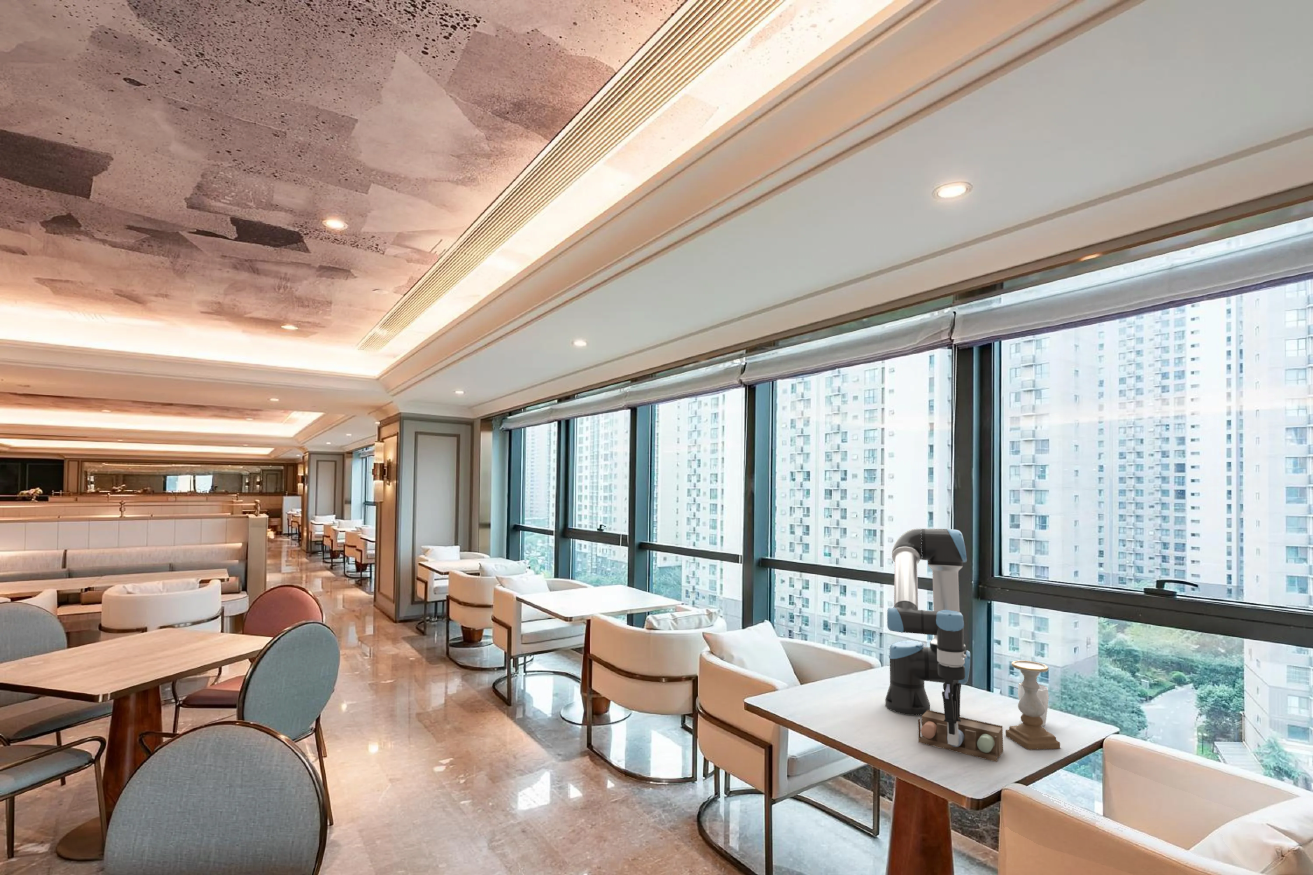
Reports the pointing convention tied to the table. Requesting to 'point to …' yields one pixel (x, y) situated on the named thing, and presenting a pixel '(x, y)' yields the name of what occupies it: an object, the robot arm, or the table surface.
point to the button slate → (961, 738)
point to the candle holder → (1031, 711)
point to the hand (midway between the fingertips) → (953, 743)
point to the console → (971, 735)
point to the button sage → (985, 743)
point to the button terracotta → (929, 730)
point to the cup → (1043, 697)
